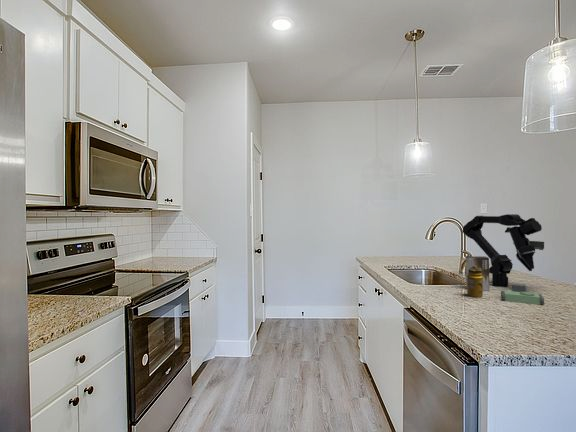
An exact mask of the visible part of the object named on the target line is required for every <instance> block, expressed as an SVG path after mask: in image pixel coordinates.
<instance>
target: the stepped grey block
mask: <svg viewBox="0 0 576 432" xmlns="http://www.w3.org/2000/svg"><path fill="white" fill-rule="evenodd" d="M511 291H514V292H527V285H526V284H522V283H511Z"/></svg>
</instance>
